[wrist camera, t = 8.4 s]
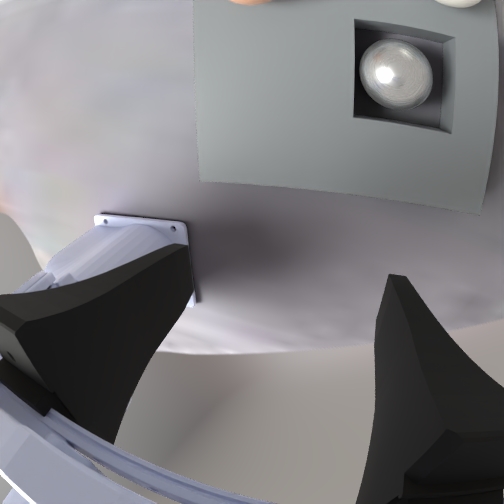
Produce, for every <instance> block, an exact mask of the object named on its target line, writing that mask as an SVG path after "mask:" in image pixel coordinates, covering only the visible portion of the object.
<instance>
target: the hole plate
mask: <svg viewBox="0 0 504 504" xmlns="http://www.w3.org/2000/svg"><path fill="white" fill-rule="evenodd" d="M354 28H358V29H367V30H375V31H383V32H389V33H396V34H401V35H407V36H412V37H417V38H422V39H426V40H431V41H435V42H439V43H443V81H442V102H441V116H440V127H439V129H438V128H434V127H429V126H424V125H419V124H413V123H408V122H402V121H396V120H389V119H383V118H376V117H368V116H360V115H353V107H354V70H355V38H354ZM193 47H194V86H195V112H196V133H197V151H198V167H199V181H204V182H222V183H237V184H251V185H263V186H275V187H286V188H297V189H306V190H316V191H325V192H333V193H342V194H350V195H358V196H365V197H372V198H380V199H386V200H393V201H400V202H406V203H412V204H419V205H424V206H430V207H436V208H442V209H447V210H453V211H458V212H463V213H468V214H473V215H478V216H480V212H481V208H482V204H483V199H484V195H485V190H486V185H487V180H488V175H489V170H490V164H491V158H492V151H493V144H494V136H495V128H496V117H497V105H498V85H499V48H498V30H497V18H496V8H495V0H481V1H480V2H479V3H477V4H475V5H473V6H470V7H465V8H456V7H451V6H447V5H444V4H441V3H439V2H437V1H435V0H273V1H270V2H268V3H264V4H260V5H242V4H237V3H234V2H231V1H229V0H193Z"/></svg>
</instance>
